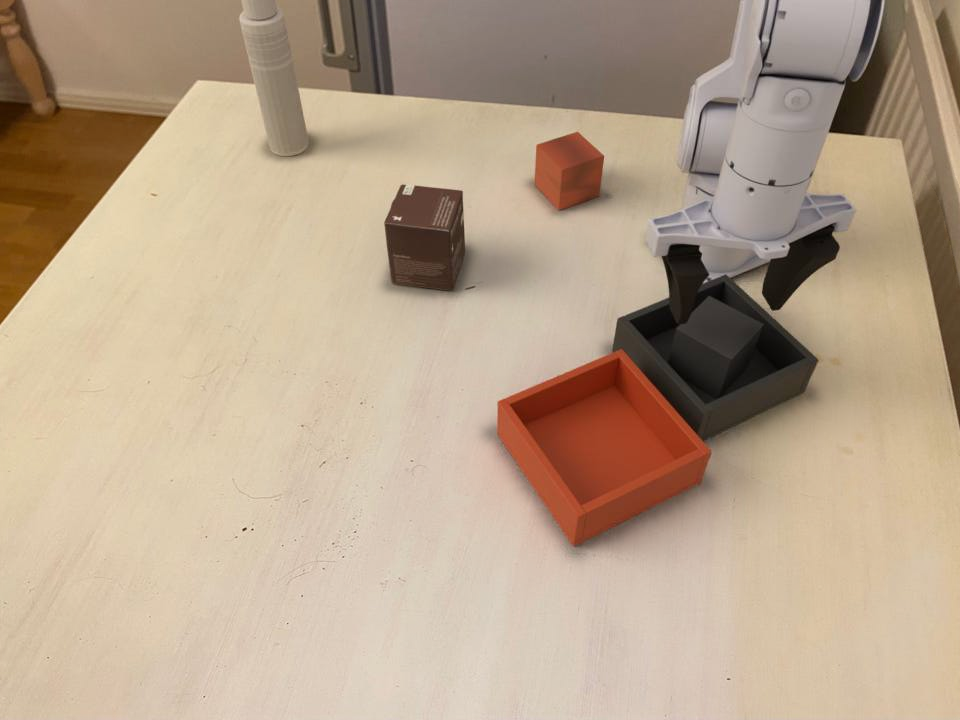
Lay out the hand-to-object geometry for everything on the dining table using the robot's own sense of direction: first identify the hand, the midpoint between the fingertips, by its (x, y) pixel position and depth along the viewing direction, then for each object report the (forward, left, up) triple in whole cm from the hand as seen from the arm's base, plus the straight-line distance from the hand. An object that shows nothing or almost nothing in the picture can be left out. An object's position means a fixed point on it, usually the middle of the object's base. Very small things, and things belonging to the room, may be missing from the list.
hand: (724, 308), depth 63 cm
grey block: (0, 0, -7) cm, 7 cm away
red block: (-3, -27, -8) cm, 28 cm away
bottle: (+20, -49, -8) cm, 53 cm away
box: (+15, -23, -8) cm, 28 cm away
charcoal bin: (0, 0, -8) cm, 8 cm away
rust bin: (+13, +3, -8) cm, 15 cm away
